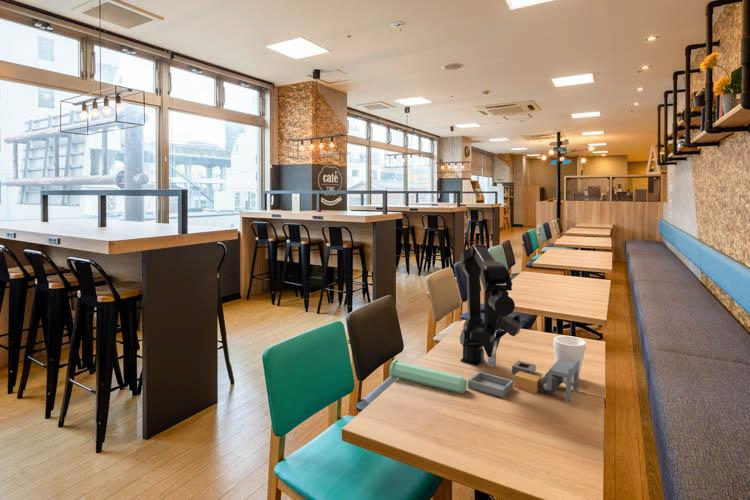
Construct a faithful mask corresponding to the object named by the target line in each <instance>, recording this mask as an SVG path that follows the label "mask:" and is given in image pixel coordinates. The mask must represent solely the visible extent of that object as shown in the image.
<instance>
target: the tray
mask: <svg viewBox="0 0 750 500" xmlns="http://www.w3.org/2000/svg"><path fill="white" fill-rule="evenodd" d="M467 388H468V389H471V390H473V391H478V392H480V393H482V394H483V393H484V394H487V395H491V396H494V397H497V398H500V399H504V397H506V396H507V395H508V394H509V393H510V392H511V391H513V389H514V380H511V379H508V378H505V377H501V376H498V375H494V374H490V373H486V372H482V371H478V372H477V373H475V374H474V375H473V376H472V377H470V378H469V379H467Z"/></svg>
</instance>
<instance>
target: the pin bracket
mask: <svg viewBox="0 0 750 500" xmlns="http://www.w3.org/2000/svg"><path fill="white" fill-rule="evenodd" d="M519 371H521V372H525V373H528V374H532V375H535V373H536V371H537V364H534V363H529V362H525V361H521V360H518V361H516V362H515V363H514V364H513V365H511V373H512V374H514V375H515V374H516V373H518V372H519Z"/></svg>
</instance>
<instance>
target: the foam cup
mask: <svg viewBox="0 0 750 500" xmlns="http://www.w3.org/2000/svg"><path fill="white" fill-rule="evenodd" d="M586 348H587V342H586V340H584V339H582V338H580V337H576V336H572V335H570V336H569V335H558V336H554V337H553V349H554V362H555V363H556V362H557V361H558V360H562V361H567V362H571V363H574V362H575V361H576V360H577V359H580V360H579V375H578V380H579V379H580V373H581V369H582V365H583V360H584V357H585V356H584V355H585V352H586V350H587V349H586ZM555 363H554V364H555ZM566 382H567V378H565V377H563V382H562V383H566ZM571 384H574V375H573V376H572V377H571Z"/></svg>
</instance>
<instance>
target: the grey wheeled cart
mask: <svg viewBox="0 0 750 500" xmlns="http://www.w3.org/2000/svg"><path fill="white" fill-rule="evenodd" d="M579 360H580V359H577V360H576V361H575V362H574V363H571V362H567V361H562V360H558V361H557V362H556V363H554V364H553V365H552V366H551V367H550V368H549V369H548V371H547V372H546V373H545V375H544V376H542V378H541V380H540V381H539V383H538V387H539V389H540V390H539V391H540V392H541V393H542V394H545V395H547V396H548V395H549V396H551V395H553V394H554V393H555V392H556V391H557V390H558V387H560V386H561V385H562V384H563V383H564V382H563V377H565V378H567V382H566V384H565V385H566V387H565V401H566V402H570V401H571V387H572V383H571V377H572V376H573V375H574V383H573V389H572V390H573V391H578V387H579V379H578V375H579ZM579 376H580V375H579Z"/></svg>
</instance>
